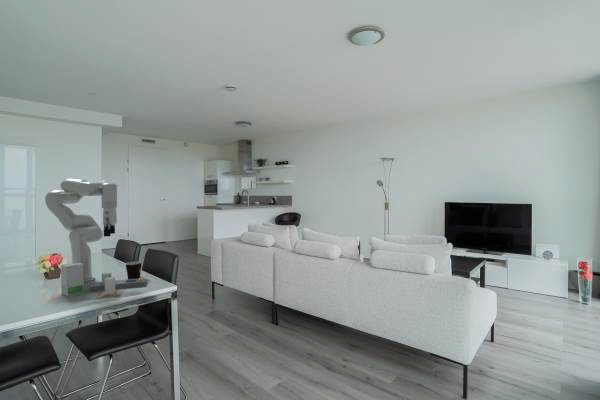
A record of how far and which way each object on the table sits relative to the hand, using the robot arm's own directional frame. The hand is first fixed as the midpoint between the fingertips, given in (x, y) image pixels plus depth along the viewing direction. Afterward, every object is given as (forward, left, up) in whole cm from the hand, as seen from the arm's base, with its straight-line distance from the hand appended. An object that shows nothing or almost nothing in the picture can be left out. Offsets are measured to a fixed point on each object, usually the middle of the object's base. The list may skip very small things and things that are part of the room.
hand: (109, 234), depth 181 cm
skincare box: (-15, -11, -29) cm, 34 cm away
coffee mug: (+12, +8, -29) cm, 32 cm away
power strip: (+6, -8, -29) cm, 30 cm away
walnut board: (+4, -20, -29) cm, 35 cm away
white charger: (+4, -20, -28) cm, 35 cm away
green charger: (0, -8, -28) cm, 29 cm away
